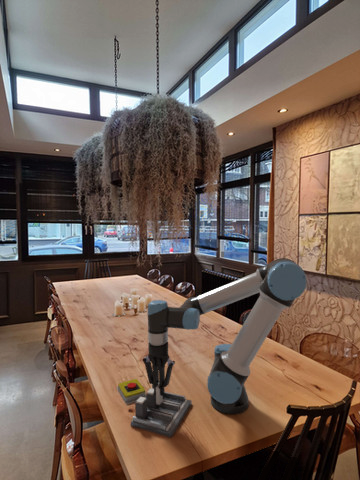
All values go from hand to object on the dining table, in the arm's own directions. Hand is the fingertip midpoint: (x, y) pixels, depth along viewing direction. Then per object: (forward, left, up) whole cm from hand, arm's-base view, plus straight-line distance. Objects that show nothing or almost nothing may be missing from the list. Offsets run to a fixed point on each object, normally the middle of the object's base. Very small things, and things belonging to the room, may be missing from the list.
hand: (159, 402), depth 110 cm
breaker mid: (+3, 0, -3) cm, 4 cm away
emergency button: (+18, -8, -5) cm, 21 cm away
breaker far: (+4, -7, -3) cm, 8 cm away
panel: (-1, 0, -4) cm, 5 cm away
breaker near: (+4, +7, -3) cm, 8 cm away
